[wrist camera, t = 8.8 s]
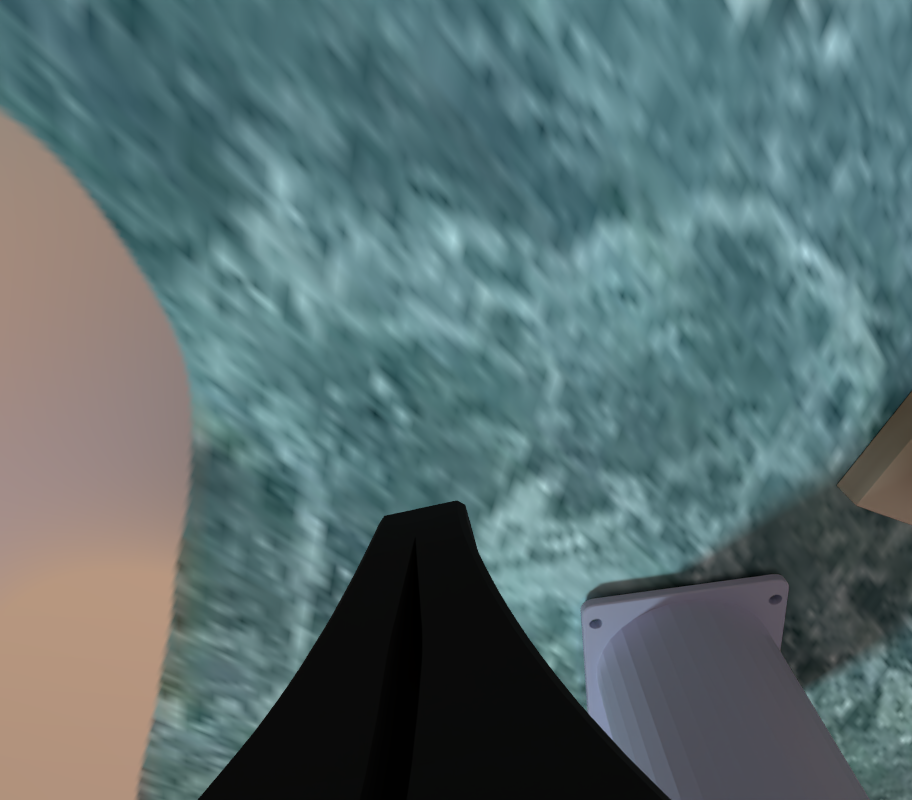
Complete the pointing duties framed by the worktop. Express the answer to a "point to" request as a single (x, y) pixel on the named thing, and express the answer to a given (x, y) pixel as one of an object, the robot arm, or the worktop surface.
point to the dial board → (885, 469)
